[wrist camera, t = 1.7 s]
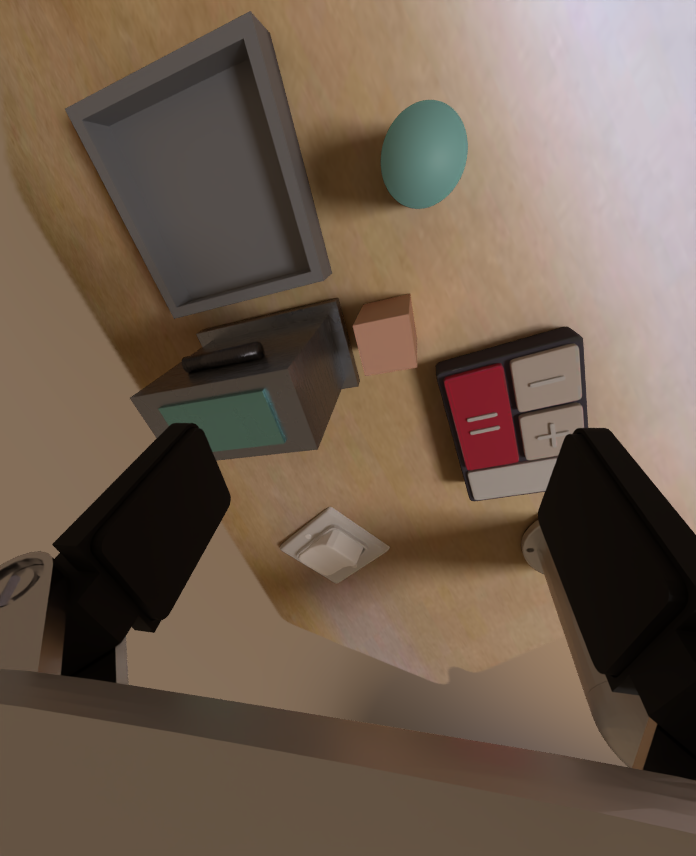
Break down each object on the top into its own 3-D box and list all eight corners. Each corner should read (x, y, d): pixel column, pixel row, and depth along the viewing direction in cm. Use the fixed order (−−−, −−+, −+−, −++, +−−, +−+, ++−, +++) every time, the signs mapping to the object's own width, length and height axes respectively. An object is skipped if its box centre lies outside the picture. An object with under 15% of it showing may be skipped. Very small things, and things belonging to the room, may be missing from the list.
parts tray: (269, 32, 21) (250, 10, 18) (332, 273, 28) (323, 280, 25) (99, 117, 25) (64, 109, 22) (192, 309, 32) (174, 318, 29)
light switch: (391, 564, 44) (332, 600, 50) (391, 539, 48) (336, 576, 54) (326, 521, 42) (272, 565, 48) (332, 498, 45) (281, 541, 51)
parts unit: (338, 296, 29) (295, 350, 19) (360, 380, 33) (334, 462, 23) (202, 329, 33) (105, 388, 23) (237, 400, 37) (168, 478, 27)
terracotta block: (410, 293, 28) (408, 313, 23) (417, 339, 30) (417, 367, 25) (363, 304, 29) (352, 325, 24) (373, 348, 31) (365, 376, 26)
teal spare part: (451, 114, 21) (464, 84, 16) (457, 195, 24) (470, 194, 18) (383, 138, 23) (372, 119, 17) (395, 213, 25) (389, 218, 19)
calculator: (587, 336, 24) (595, 491, 31) (566, 321, 28) (577, 463, 34) (435, 377, 28) (471, 507, 35) (434, 359, 32) (466, 480, 38)
